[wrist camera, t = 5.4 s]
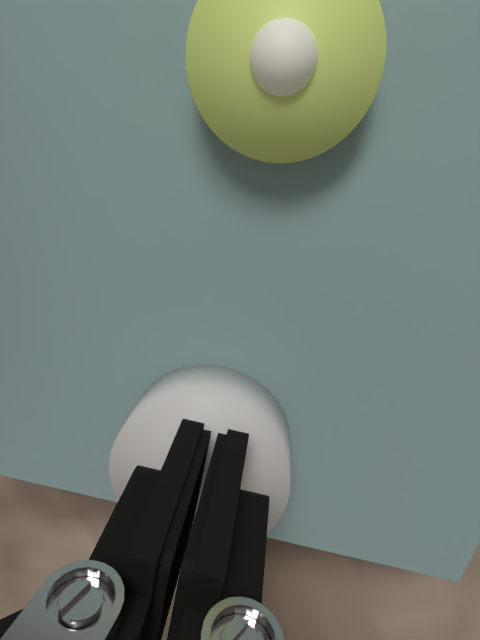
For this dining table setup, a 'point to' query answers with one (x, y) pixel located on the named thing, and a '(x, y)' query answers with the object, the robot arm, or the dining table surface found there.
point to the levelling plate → (249, 257)
